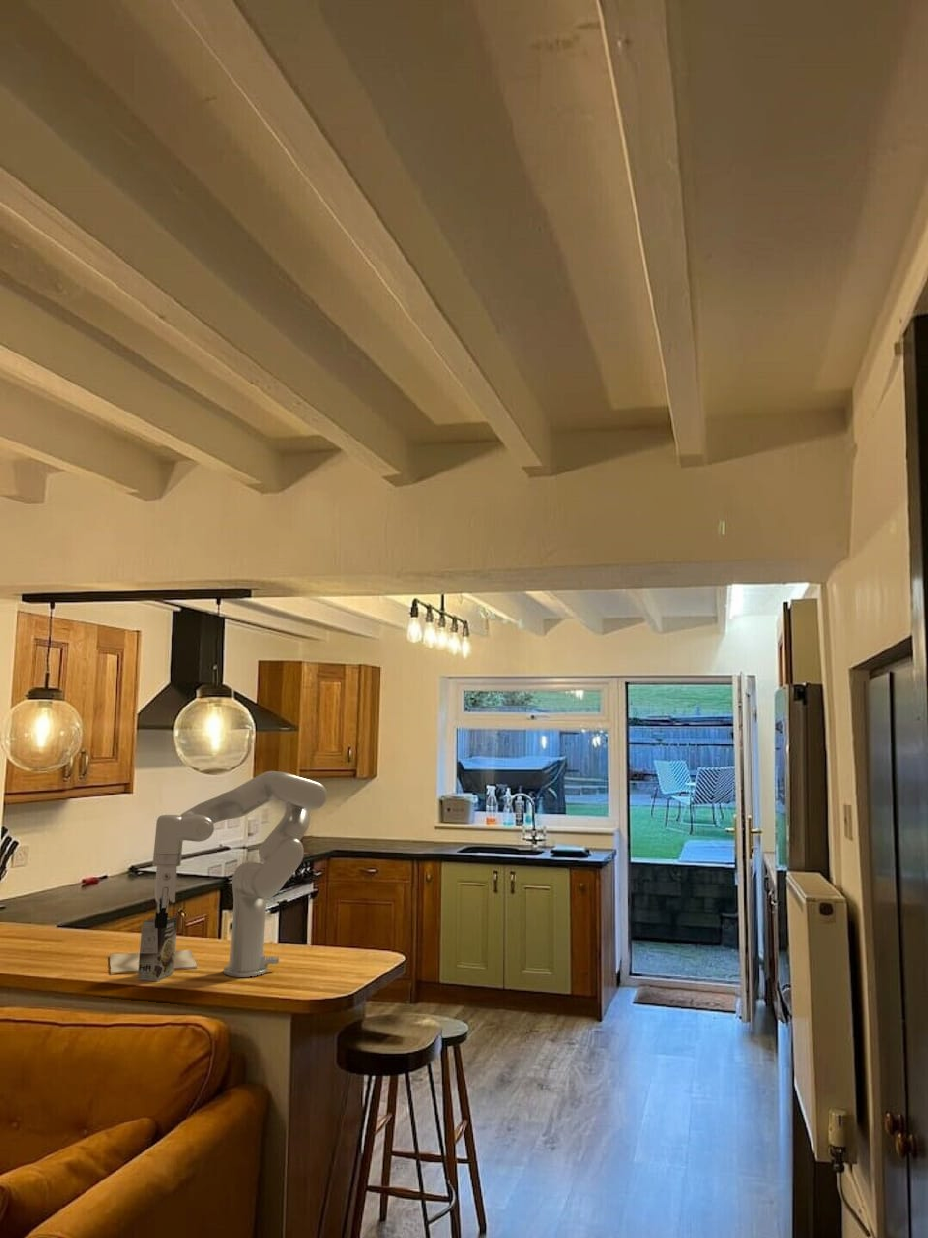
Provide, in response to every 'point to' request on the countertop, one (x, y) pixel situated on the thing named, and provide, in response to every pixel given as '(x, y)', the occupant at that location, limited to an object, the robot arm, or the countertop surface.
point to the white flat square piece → (131, 960)
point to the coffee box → (157, 950)
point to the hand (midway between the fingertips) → (160, 927)
